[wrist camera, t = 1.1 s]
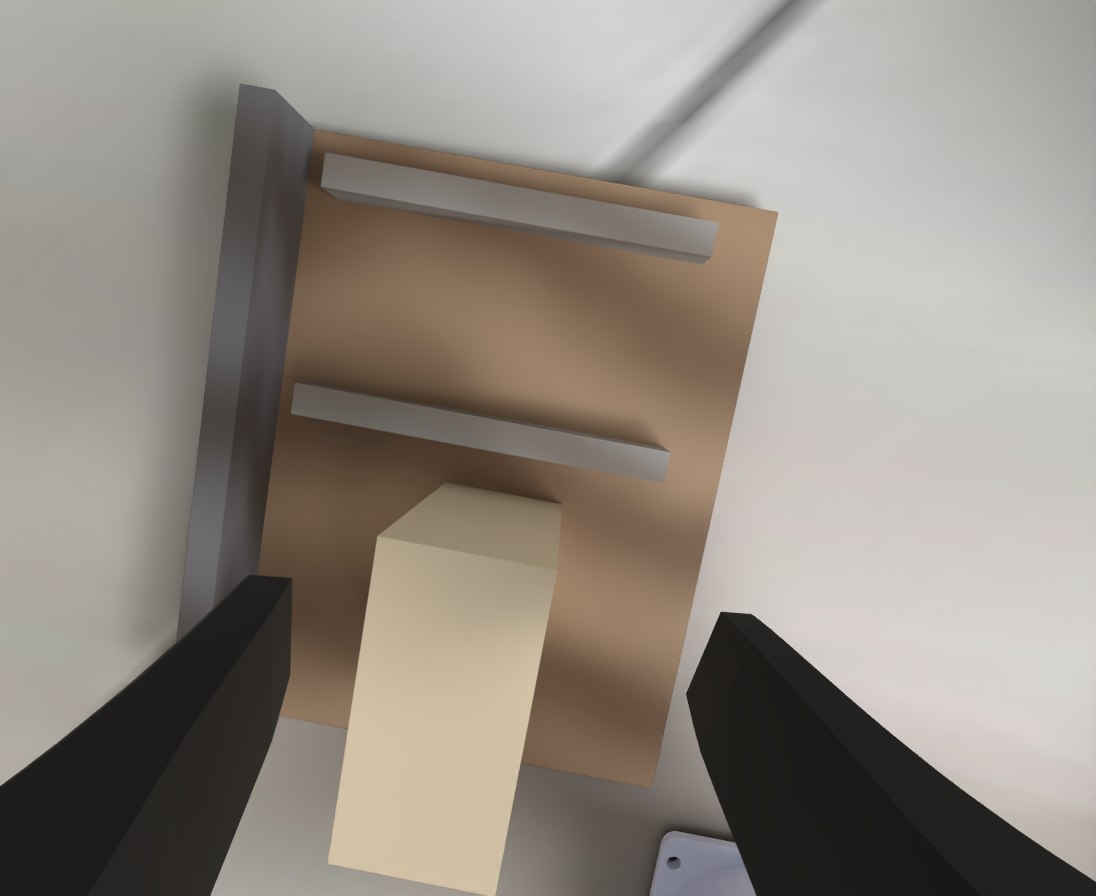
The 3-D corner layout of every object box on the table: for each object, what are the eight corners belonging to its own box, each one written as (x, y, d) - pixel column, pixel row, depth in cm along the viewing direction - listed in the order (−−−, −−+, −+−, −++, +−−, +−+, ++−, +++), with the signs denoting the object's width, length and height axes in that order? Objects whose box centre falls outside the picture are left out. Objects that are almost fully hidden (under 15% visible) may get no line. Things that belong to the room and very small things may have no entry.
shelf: (647, 769, 21) (662, 844, 18) (223, 687, 22) (158, 744, 18) (767, 221, 19) (811, 185, 16) (293, 136, 19) (233, 82, 16)
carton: (519, 727, 20) (493, 904, 13) (408, 706, 20) (326, 871, 14) (561, 504, 20) (557, 570, 13) (445, 482, 20) (377, 535, 13)
